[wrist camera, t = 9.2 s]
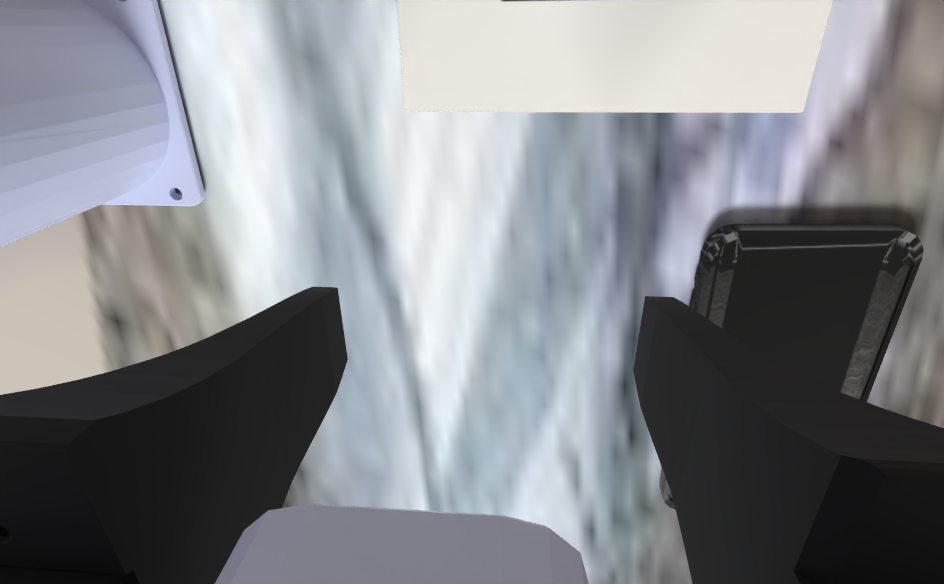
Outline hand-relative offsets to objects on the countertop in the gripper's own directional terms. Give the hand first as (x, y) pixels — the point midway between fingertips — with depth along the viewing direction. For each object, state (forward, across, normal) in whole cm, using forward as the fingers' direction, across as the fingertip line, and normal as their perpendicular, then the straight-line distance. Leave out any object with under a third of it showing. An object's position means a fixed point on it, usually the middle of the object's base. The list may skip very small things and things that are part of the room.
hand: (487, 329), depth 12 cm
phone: (+10, -12, +8) cm, 18 cm away
